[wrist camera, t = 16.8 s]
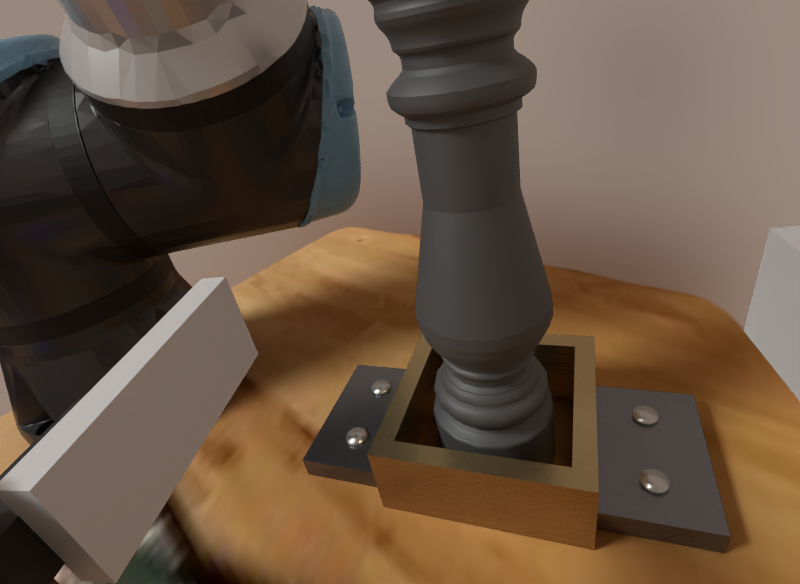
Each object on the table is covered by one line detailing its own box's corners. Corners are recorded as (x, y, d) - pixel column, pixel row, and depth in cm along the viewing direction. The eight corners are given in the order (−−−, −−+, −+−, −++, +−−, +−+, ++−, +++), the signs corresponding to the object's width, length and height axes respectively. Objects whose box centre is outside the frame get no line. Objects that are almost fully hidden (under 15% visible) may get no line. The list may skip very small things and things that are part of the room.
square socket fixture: (300, 489, 25) (277, 440, 23) (367, 368, 33) (354, 323, 31) (731, 577, 18) (753, 518, 16) (686, 397, 26) (697, 341, 24)
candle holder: (483, 389, 29) (426, -116, 17) (576, 433, 25) (593, -191, 13) (418, 454, 26) (286, -119, 13) (514, 517, 22) (453, -224, 9)
